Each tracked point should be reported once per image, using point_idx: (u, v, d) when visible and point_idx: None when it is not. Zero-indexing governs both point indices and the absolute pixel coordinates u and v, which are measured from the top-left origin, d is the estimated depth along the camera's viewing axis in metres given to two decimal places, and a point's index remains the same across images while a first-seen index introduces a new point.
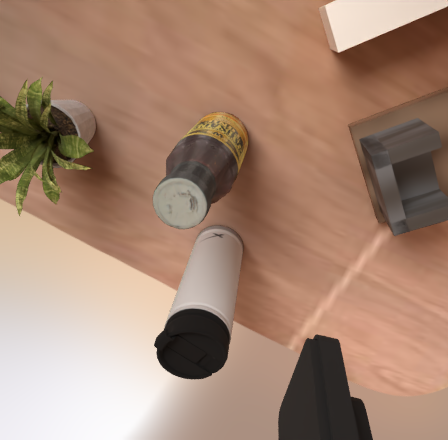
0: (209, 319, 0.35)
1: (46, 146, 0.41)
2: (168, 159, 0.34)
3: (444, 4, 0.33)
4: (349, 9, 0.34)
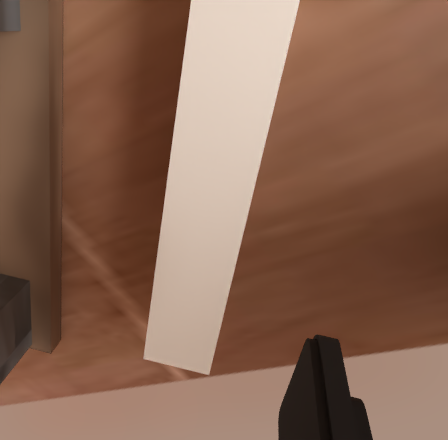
0: None
1: None
2: None
3: (176, 149, 0.18)
4: None
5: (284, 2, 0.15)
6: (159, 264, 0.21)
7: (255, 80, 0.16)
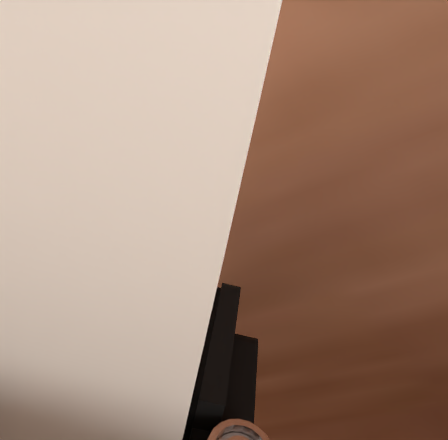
0: None
1: None
2: None
3: None
4: None
5: None
6: None
7: (156, 200, 0.05)
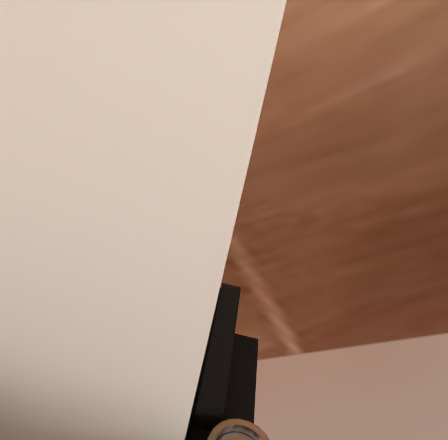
0: None
1: None
2: None
3: None
4: None
5: None
6: None
7: (159, 201, 0.05)
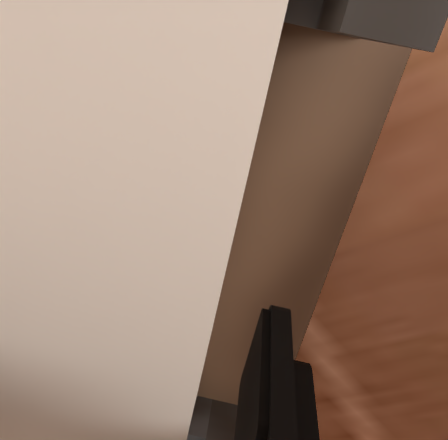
0: None
1: None
2: None
3: None
4: None
5: None
6: None
7: (172, 185, 0.06)
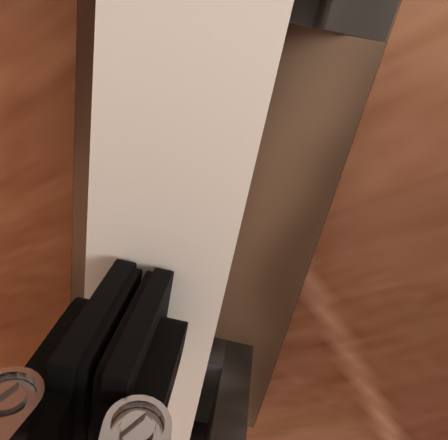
0: None
1: None
2: None
3: (95, 231, 0.11)
4: None
5: None
6: None
7: (220, 122, 0.09)
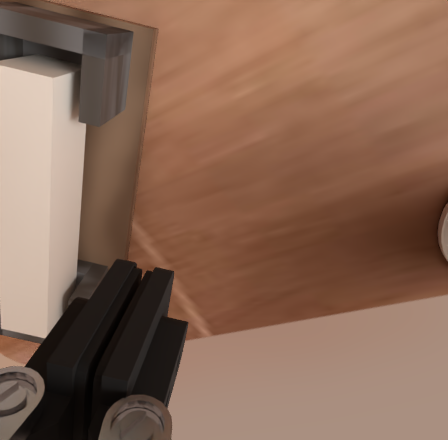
0: None
1: None
2: None
3: None
4: (35, 102, 0.26)
5: (44, 114, 0.26)
6: None
7: (36, 155, 0.27)
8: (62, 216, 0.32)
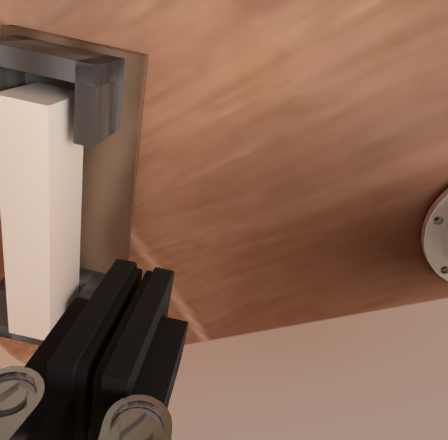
0: None
1: None
2: None
3: (3, 209, 0.32)
4: (33, 127, 0.28)
5: (41, 138, 0.29)
6: (6, 273, 0.35)
7: (36, 174, 0.30)
8: (62, 229, 0.35)
